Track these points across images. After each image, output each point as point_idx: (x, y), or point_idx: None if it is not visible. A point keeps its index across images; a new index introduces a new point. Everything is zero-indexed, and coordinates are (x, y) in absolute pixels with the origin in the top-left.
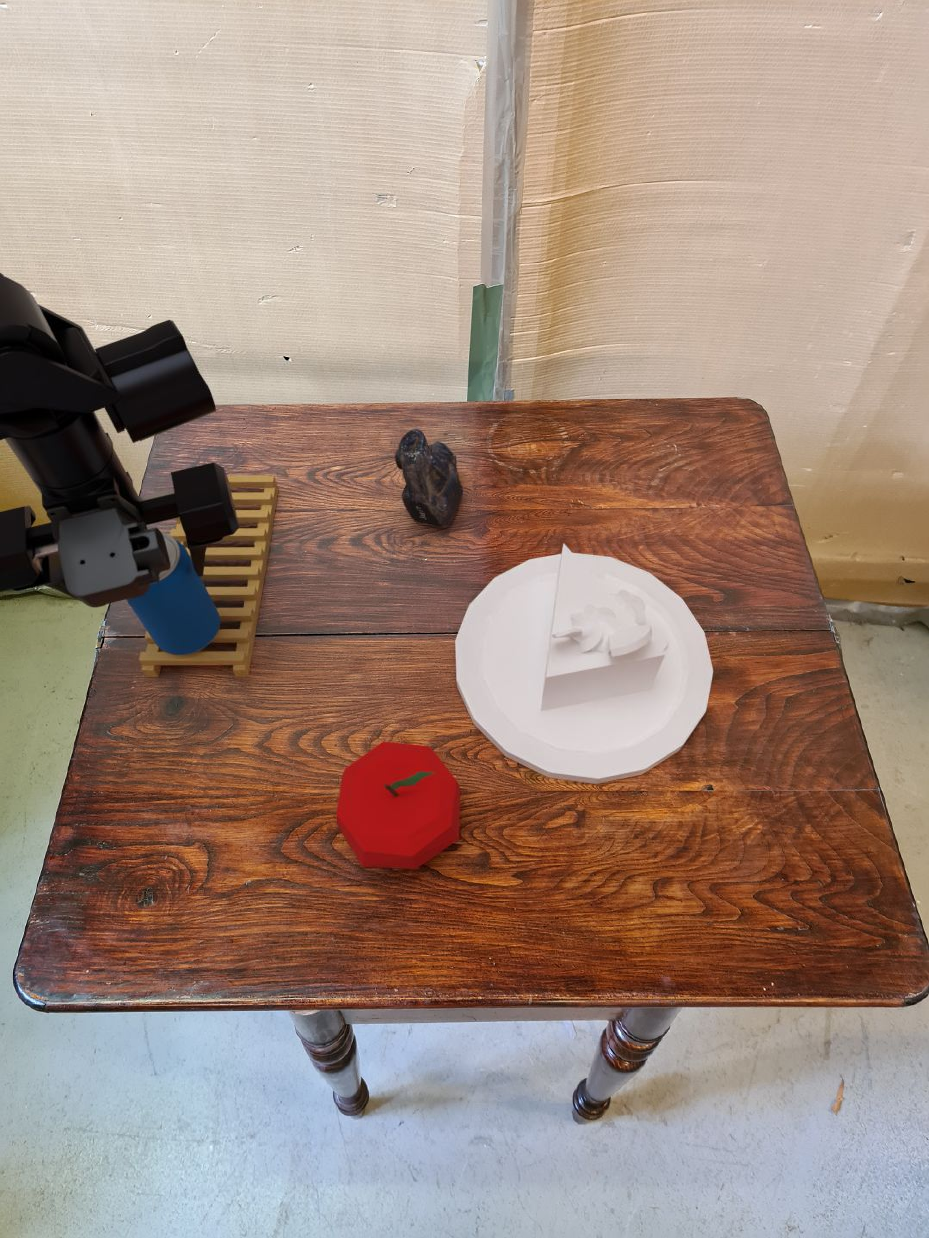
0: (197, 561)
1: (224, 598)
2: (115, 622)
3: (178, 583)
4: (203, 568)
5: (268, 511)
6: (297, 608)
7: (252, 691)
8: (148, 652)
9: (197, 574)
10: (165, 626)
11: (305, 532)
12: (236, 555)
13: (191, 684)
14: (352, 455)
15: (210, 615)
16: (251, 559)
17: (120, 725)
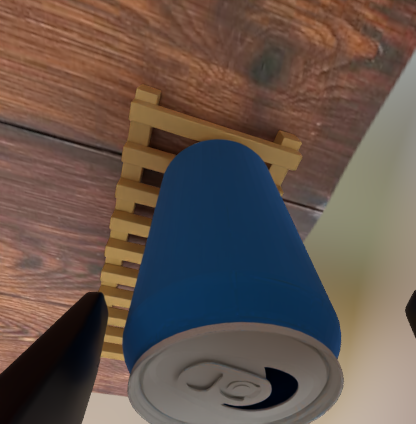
0: (22, 381)
1: None
2: (310, 228)
3: (156, 291)
4: (53, 325)
5: None
6: (64, 182)
7: (136, 51)
8: (284, 166)
9: (94, 303)
10: (242, 185)
11: (60, 281)
12: (136, 277)
13: (233, 100)
14: (11, 347)
15: (160, 193)
16: (120, 266)
17: (359, 57)
